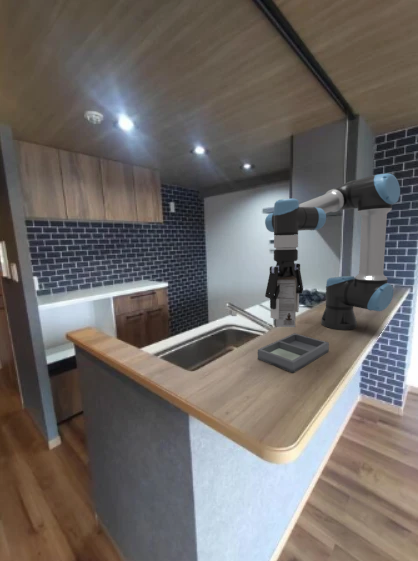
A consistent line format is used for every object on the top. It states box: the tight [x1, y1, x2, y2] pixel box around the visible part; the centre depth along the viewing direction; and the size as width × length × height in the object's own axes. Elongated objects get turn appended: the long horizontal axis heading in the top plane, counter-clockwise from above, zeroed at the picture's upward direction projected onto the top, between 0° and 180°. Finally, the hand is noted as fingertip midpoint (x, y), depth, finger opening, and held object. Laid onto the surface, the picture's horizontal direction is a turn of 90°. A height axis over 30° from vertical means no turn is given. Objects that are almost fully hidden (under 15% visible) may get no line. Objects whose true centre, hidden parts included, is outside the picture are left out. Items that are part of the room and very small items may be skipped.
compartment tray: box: [257, 332, 330, 374], centre depth 94 cm, size 23×14×4 cm, turn 130°
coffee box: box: [274, 275, 297, 328], centre depth 87 cm, size 9×6×16 cm
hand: (285, 314), depth 88 cm, fingers closed on coffee box, 11 cm apart
